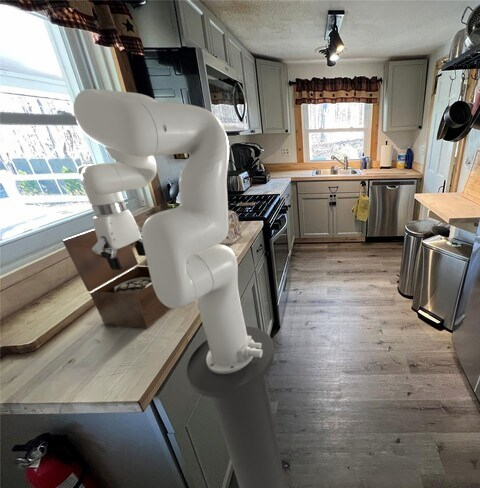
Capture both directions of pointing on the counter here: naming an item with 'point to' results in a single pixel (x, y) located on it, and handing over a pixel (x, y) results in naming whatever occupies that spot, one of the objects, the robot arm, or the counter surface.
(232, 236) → the decorative jar
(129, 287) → the food container
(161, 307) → the chest
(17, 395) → the counter surface
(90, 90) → the robot arm
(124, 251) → the lid
